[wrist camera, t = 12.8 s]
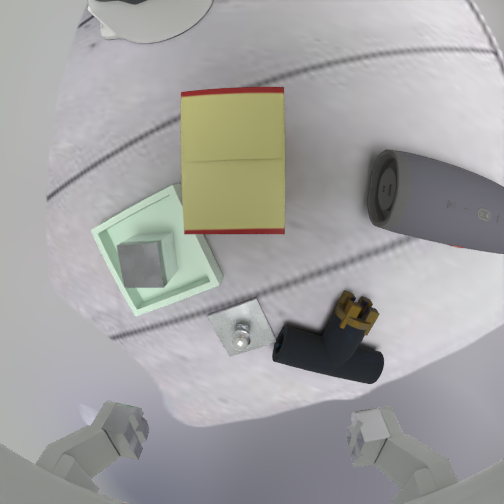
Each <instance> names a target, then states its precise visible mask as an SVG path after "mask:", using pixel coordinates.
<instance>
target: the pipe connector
mask: <svg viewBox="0 0 504 504" xmlns="http://www.w3.org/2000/svg"><path fill="white" fill-rule="evenodd" d="M355 299H356V298H355V296H354V295H353V294H352V293H349V292H346V291H344V293H343V295H342V297H341V299H340V301H339V302H338V304H337V306H336V308H335V310H334V315H333V317H332V318H331V320H330V322H329V324H328V326H327V328H326V330H325V331H324V333H323V335H322V336H320V335H316V334H313V333H309V332H306V331H303V330H299V329H296V328H293V327H290V326H286V325H284V326H283V327H282V329H281V331H280V333H279V335H278V337H277V340H276V342H275V345H274V349H273V356H272V358H273V361H274V362H278V363H282V364H285V365H289V366H293V367H296V368H300V369H304V370H308V371H312V372H316V373H321V374H325V375H329V376H334V377H338V378H343V379H347V380H352V381H357V382H362V383H367V384H373V383H374V382H376V381H377V380H378V378H379V377H380V375H381V373H382V370H383V366H384V357H383V355H382V353H381V352H379V351H375V350H371V349H367V348H363V347H359V344H360V342H361V341H362V339H363V337H364V336H365V335H368V333H369V331H370V330H371V328H372V326H373V325H374V323H375V321H376V319H377V318H378V316H379V313H378V311H377V310H376V309H375V308H372V305H373V304H372V302H371V301H370V300H369V299H366V298H364V297H361V299H360V301H359V303H357V302H354V301H355Z"/></svg>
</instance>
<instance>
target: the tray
mask: <svg viewBox="0 0 504 504" xmlns="http://www.w3.org/2000/svg"><path fill="white" fill-rule="evenodd" d="M172 231H173V234H174V242H175V250H176V258H177V265H178V271H177V273H176V274H175V275H174V276H173V277H172V279H171V280H170V281H169V282H168V283H167V285H166V286H165V287H164V288H124V283H123V278H122V273H121V268H120V262H119V257H118V251H117V245H118V244H120V243H121V242H123V241H125V240H127V239H129V238H130V237H132V236H134V235H136V234H142V233H157V232H172ZM91 232H92V234H93V236H94V239H95V241H96V243H97V245H98V247H99V249H100V251H101V253H102V255H103V257H104V259H105V261H106V263H107V265H108V267H109V269H110V271H111V273H112V275H113V277H114V279H115V281H116V283H117V285H118V287H119V288H120V290H121V292H122V294H123V296H124V297H125V299H126V301H127V303H128V305H129V306H130V308H131V310H132V311H133V313H134V315H135V317H136V316H139V315H141V314H144V313H147V312H150V311H152V310H155V309H158V308H161V307H163V306H166V305H169V304H171V303H174V302H177V301H180V300H182V299H185V298H188V297H190V296H193V295H196V294H198V293H201V292H204V291H206V290H209V289H212V288H214V287H217V286H219V285H220V283H221V281H222V278H223V274H222V272H221V270H220V268H219V266H218V264H217V262H216V260H215V258H214V256H213V254H212V252H211V249H210V247H209V245H208V243H207V241H206V239H205V237H204V235H203V234H184V223H183V203H182V186H181V184H180V183H179V184H174V185H171V186H169V187H167V188H165V189H163V190H161V191H159V192H157V193H156V194H154V195H152V196H150V197H148V198H146V199H144V200H143V201H141V202H139V203H137V204H135V205H133V206H132V207H130V208H128V209H126V210H125V211H123V212H121V213H119V214H118V215H116V216H114V217H112V218H111V219H109V220H107V221H106V222H104V223H102V224H101V225H99V226H97V227H96V228H94V229H92V230H91Z"/></svg>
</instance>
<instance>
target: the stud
mask: <svg viewBox="0 0 504 504" xmlns="http://www.w3.org/2000/svg"><path fill="white" fill-rule="evenodd" d="M207 317H208V319H209V321H210V323H211V325H212V326H213V328H214V330H215V332H216V334H217V335H218V337H219V339H220V341H221V342H222V344H223V346H224V348H225V349H226V351H227V353H228V354H229V356H233V355H237V354H240V353H243V352H247V351H250V350H253V349H256V348H259V347H262V346H265V345H268V344H271V343H274V342H276V338H275V336H274V334H273V332H272V329H271V327H270V325H269V323H268V321H267V319H266V317H265V315H264V312H263V310H262V308H261V306H260V304H259V302H258V300H257V297H256V298H253V299H250V300H247V301H245V302H242V303H239V304H236V305H234V306H231V307H228V308H225V309H222V310H219V311H217V312H214V313H211V314H208V316H207Z"/></svg>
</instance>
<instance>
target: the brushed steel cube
mask: <svg viewBox="0 0 504 504" xmlns="http://www.w3.org/2000/svg"><path fill="white" fill-rule="evenodd" d="M117 251H118V257H119V262H120V268H121V273H122V278H123V283H124V288H164V287H165V286H166V285H167V283H168V282H169V281H170V280H171V279H172V277H173V276H174V275H175V274H176V273H177V271H178V265H177V258H176V250H175V242H174V234H173V231H172V232H157V233H142V234H136V235H134V236H132V237H130V238H129V239H127V240H125V241H123V242H121V243H120V244H118V245H117Z"/></svg>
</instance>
